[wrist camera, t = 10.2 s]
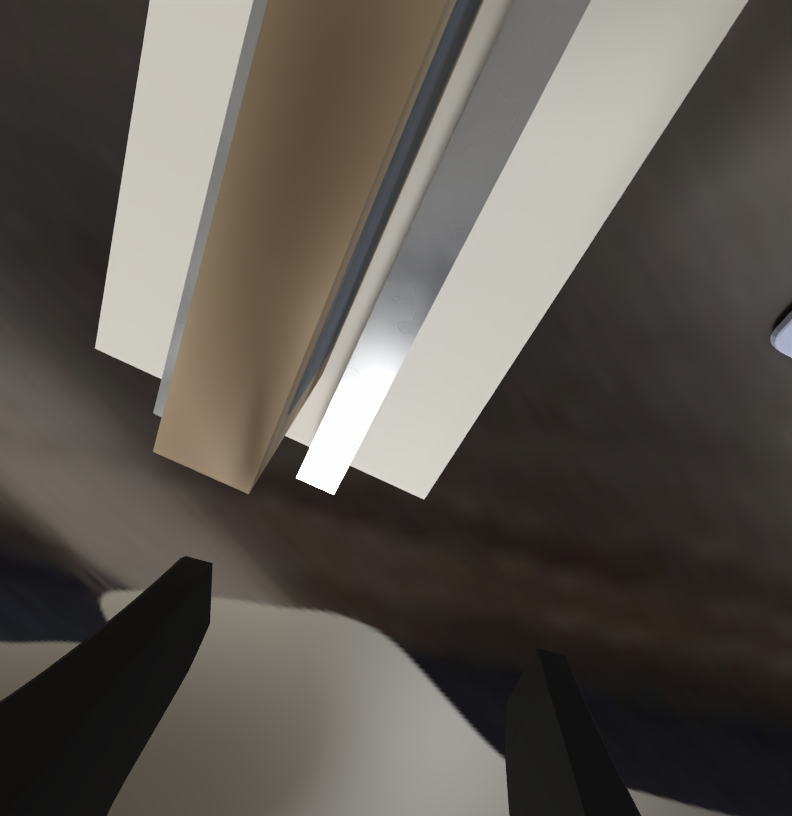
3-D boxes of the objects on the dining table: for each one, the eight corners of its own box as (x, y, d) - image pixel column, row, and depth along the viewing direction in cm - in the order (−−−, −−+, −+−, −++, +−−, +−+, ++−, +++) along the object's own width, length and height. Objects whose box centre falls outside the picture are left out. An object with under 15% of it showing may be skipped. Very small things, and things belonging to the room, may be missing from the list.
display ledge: (802, -109, 12) (899, -178, 9) (426, 481, 22) (419, 533, 19) (254, -456, 11) (178, -655, 8) (114, 337, 21) (57, 370, 18)
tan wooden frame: (532, -107, 12) (591, -348, 6) (323, 375, 19) (250, 494, 13) (432, -168, 12) (385, -482, 6) (257, 343, 19) (151, 450, 12)
